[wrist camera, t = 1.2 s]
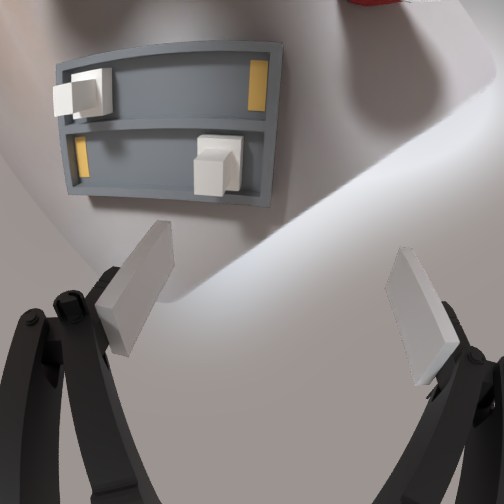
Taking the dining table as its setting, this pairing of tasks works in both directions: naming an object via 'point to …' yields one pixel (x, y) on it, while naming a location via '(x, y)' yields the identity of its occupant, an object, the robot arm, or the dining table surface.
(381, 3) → the plastic cup
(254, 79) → the grey divided tray
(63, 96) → the tab
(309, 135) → the dining table surface
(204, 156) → the tab
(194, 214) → the dining table surface
